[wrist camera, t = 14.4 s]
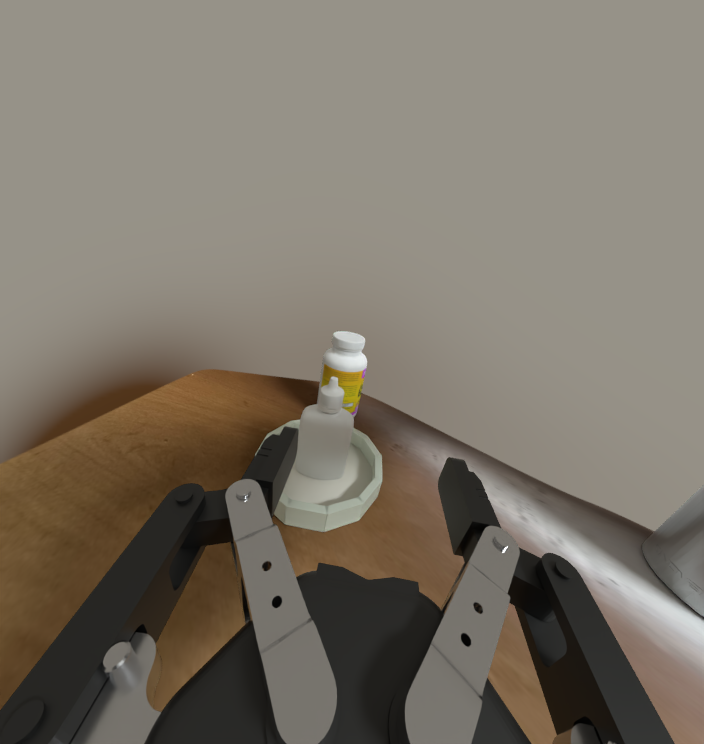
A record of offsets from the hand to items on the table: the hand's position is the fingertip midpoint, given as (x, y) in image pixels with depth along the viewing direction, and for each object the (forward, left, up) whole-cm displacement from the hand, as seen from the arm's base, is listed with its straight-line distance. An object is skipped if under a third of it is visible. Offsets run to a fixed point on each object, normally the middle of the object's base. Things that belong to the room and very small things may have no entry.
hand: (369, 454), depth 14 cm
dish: (+3, -12, -15) cm, 19 cm away
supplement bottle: (+3, -25, -15) cm, 29 cm away
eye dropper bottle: (+3, -12, -14) cm, 19 cm away
